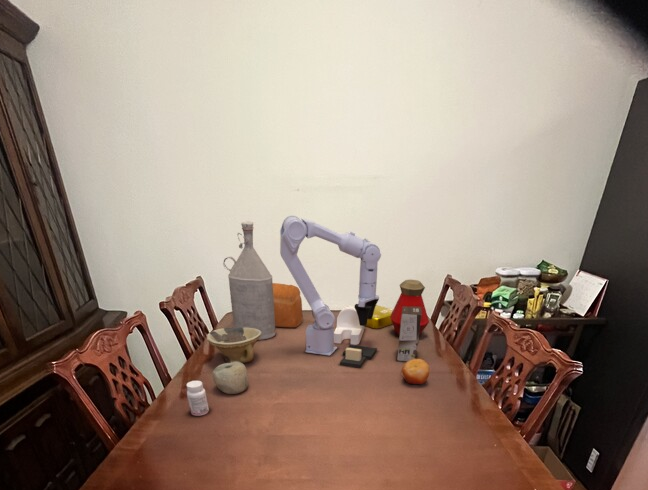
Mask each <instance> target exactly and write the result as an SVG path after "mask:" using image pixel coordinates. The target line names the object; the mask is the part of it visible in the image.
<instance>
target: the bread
mask: <svg viewBox="0 0 648 490" xmlns="http://www.w3.org/2000/svg"><path fill="white" fill-rule="evenodd" d="M273 298H274V314H275V328H297V327H298V326H300V325H301V323H302V322H303V302H302V301H303V300H302V296H301V290H300V288H299V286H296V285H293V284H285V283H279V282H278V283H277V282H273Z"/></svg>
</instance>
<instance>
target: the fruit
mask: <svg viewBox="0 0 648 490" xmlns="http://www.w3.org/2000/svg"><path fill="white" fill-rule="evenodd" d="M401 373H402V376H403V378H404V380H405V381H406V383H407V384H410V385H423V384H425V383H426V382H427V380H428V378H429V376H430V375H429V374H430V366H429V363H427V362H426V361H425V360H424V359H423V358H416V359H412V360H409V361H405V362H404V364H403V366H402V368H401Z"/></svg>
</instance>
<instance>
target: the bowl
mask: <svg viewBox="0 0 648 490" xmlns="http://www.w3.org/2000/svg"><path fill="white" fill-rule="evenodd" d="M260 336H261V331H260V330H258V329H254V328H246V327H234V326H233V327H222V328H218V329H217V328H216V329H214V330H212V331H210V332H208V333H207V334H206V339H207V341H208V343H209V344H210V345H211V346H213V347H215V348H216V349H217V350H218V351H219V352H220V353H221V354H222V356H224V360H225V362H226V363H231V362H240V363H242V364H244V363H249V362H252V360H253V359H254V346H255V344H256V342H257V341H259V340H258V338H260Z"/></svg>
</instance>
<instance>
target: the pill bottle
mask: <svg viewBox="0 0 648 490" xmlns="http://www.w3.org/2000/svg"><path fill="white" fill-rule="evenodd" d="M186 396H187V402H188V406H189V410H190V413H191V415H192V416H196V417H200V416H205V415H206V414H208V413H209V411H210V408H209V403H208V398H207V392H206V389H205V387H204V384H203V381H201V380H191V381H188V382H187V383H186Z"/></svg>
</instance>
